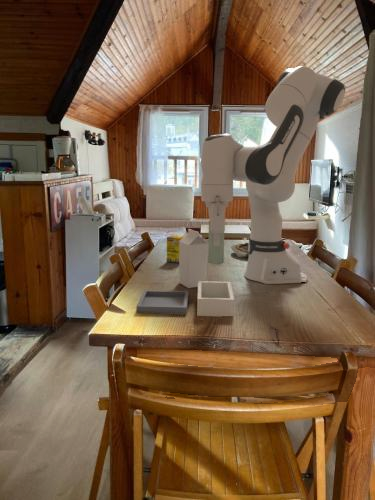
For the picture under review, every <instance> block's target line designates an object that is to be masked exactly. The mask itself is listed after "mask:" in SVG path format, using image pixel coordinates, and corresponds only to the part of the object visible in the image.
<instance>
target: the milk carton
mask: <svg viewBox="0 0 375 500" xmlns="http://www.w3.org/2000/svg"><path fill="white" fill-rule="evenodd" d="M183 236H184V237H183V238H182V239H181V240H180V241H179V264H178V265H179V267H178V270H179V271H178V274H179V276H178V283H179V284H180V285H182V286H184V287H185V288H187V289H192V288H198V281H208V280H207V278H208V277H207V276H208V242H207V241H206V240H204V238H203V235H202V234H201V233H199V231H196V230H193V229H190V228H188V229H187V232H186V233H185V234H184V235H183Z"/></svg>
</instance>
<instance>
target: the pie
mask: <svg viewBox="0 0 375 500" xmlns="http://www.w3.org/2000/svg"><path fill="white" fill-rule="evenodd" d="M248 243H249V242H245V243H242V242H241V243H237V244H232V246H231V250H232V251H233V252H234V253H235V255H236V256H237V258H239V257H240V258H239V259H247V260H248V258H249V253H248Z"/></svg>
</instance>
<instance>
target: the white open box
mask: <svg viewBox="0 0 375 500" xmlns="http://www.w3.org/2000/svg"><path fill="white" fill-rule="evenodd" d="M234 306H235V297H234V293H233V288H232V283H231V281H214V280H213V281H211V280H209V281H208V280H207V281H198V287H197V306H196V307H197V308H196V309H197V311H196V314H197V317H222V316H234V314H235V310H234V309H235V307H234Z"/></svg>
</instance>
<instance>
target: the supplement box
mask: <svg viewBox="0 0 375 500" xmlns="http://www.w3.org/2000/svg"><path fill="white" fill-rule="evenodd" d="M184 236H185V235H178V234H170V235H168V236H166V263H172V264H178V265H179V241H180V240H181V239H182V238H183V237H184Z"/></svg>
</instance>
